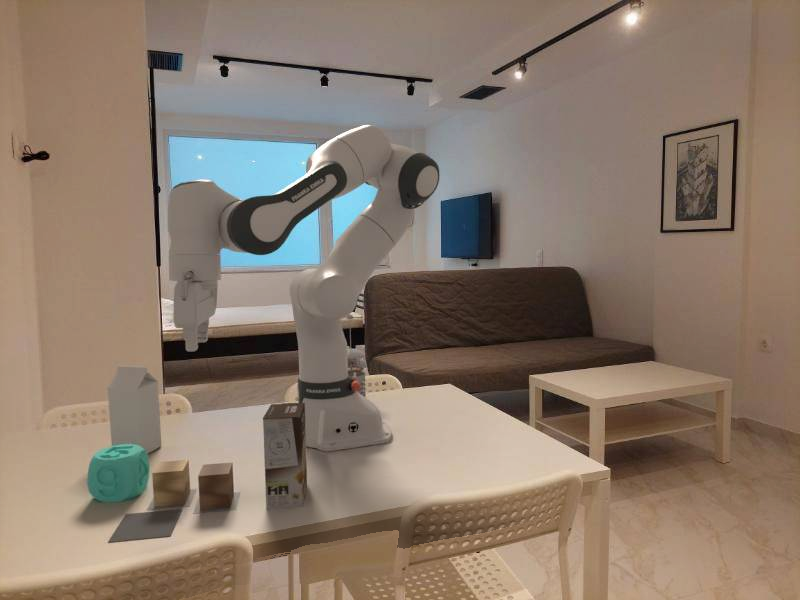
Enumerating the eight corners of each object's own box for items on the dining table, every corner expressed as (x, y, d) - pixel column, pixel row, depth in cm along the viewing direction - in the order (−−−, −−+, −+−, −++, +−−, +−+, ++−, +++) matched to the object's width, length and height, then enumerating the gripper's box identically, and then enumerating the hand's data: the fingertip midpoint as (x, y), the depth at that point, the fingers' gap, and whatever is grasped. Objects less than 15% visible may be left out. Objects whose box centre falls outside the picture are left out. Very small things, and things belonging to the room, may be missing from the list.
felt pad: (182, 511, 96) (182, 508, 96) (170, 538, 87) (170, 535, 87) (125, 516, 94) (125, 514, 94) (108, 544, 85) (107, 541, 85)
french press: (330, 406, 156) (327, 316, 154) (341, 395, 168) (339, 311, 165) (364, 407, 155) (363, 317, 152) (373, 396, 166) (372, 311, 163)
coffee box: (303, 509, 96) (300, 417, 94) (265, 511, 95) (261, 418, 94) (307, 485, 105) (305, 401, 103) (273, 487, 105) (269, 403, 103)
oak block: (190, 491, 103) (188, 459, 102) (184, 504, 98) (182, 470, 97) (161, 494, 102) (159, 461, 101) (154, 506, 97) (152, 473, 96)
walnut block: (234, 494, 101) (232, 462, 100) (230, 507, 96) (229, 473, 96) (204, 497, 100) (203, 464, 100) (199, 510, 95) (198, 476, 95)
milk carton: (141, 458, 120) (135, 370, 118) (112, 456, 121) (106, 369, 119) (161, 446, 127) (156, 363, 125) (133, 444, 128) (128, 362, 126)
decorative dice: (151, 483, 107) (148, 442, 107) (136, 502, 100) (133, 458, 99) (106, 486, 106) (103, 444, 106) (88, 505, 99) (85, 461, 98)
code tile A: (240, 493, 102) (240, 491, 102) (236, 511, 95) (236, 509, 95) (200, 497, 101) (199, 495, 101) (192, 515, 94) (192, 513, 94)
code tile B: (197, 490, 104) (197, 488, 104) (189, 507, 97) (189, 506, 97) (156, 493, 103) (156, 492, 103) (146, 511, 96) (146, 509, 96)
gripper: (202, 273, 92) (204, 356, 94) (222, 268, 113) (223, 337, 114) (162, 273, 91) (164, 357, 93) (188, 268, 112) (190, 337, 113)
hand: (197, 346), depth 103 cm, fingers open, 8 cm apart
